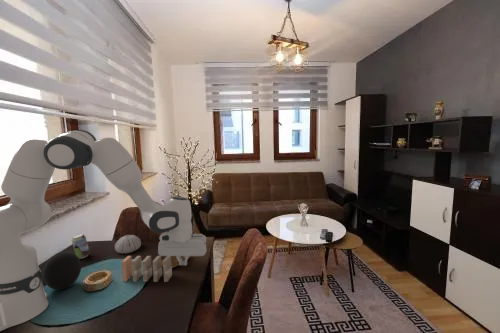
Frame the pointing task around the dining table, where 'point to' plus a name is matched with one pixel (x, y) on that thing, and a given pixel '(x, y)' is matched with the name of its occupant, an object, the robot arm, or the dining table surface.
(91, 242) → the dining table surface
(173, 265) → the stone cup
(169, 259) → the domino
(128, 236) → the sea urchin shell
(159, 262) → the domino
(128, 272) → the domino
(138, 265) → the domino
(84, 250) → the beverage can
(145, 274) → the domino
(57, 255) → the decorative egg
